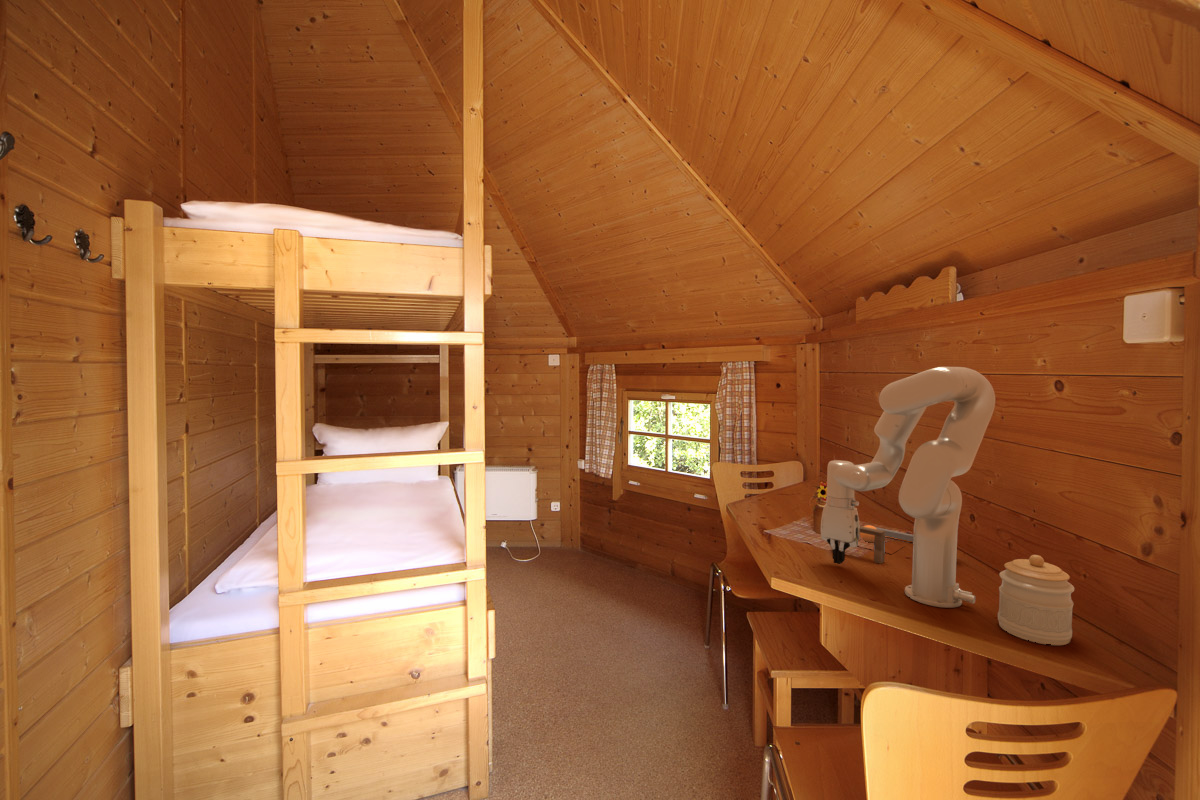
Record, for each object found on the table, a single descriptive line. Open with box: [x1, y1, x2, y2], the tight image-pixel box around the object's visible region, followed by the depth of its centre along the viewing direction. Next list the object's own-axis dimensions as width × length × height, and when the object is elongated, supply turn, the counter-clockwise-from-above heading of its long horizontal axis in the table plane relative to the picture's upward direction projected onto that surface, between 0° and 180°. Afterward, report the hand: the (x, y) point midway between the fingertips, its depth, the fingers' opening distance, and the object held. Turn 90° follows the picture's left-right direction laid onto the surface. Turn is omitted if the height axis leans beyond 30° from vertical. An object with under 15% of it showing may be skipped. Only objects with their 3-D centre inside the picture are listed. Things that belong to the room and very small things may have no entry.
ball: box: [860, 524, 876, 543], centre depth 183 cm, size 6×6×6 cm
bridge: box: [831, 525, 886, 565], centre depth 168 cm, size 3×15×10 cm, turn 43°
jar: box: [997, 554, 1075, 646], centre depth 119 cm, size 13×13×18 cm
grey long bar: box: [874, 526, 914, 542], centre depth 189 cm, size 16×2×2 cm, turn 43°
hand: (838, 562), depth 159 cm, fingers closed
